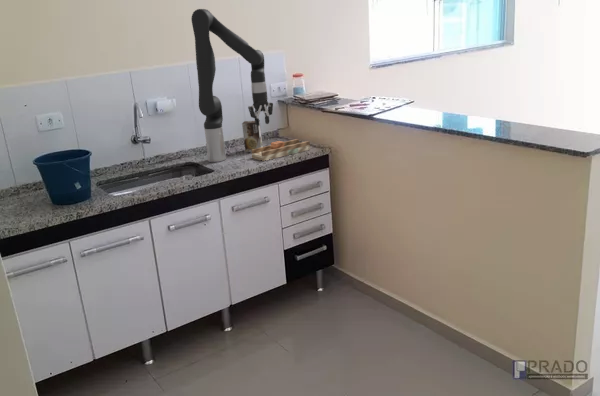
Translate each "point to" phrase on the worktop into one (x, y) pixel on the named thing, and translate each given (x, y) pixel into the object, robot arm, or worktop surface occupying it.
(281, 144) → the block
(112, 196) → the worktop surface
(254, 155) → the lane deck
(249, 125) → the coffee box
